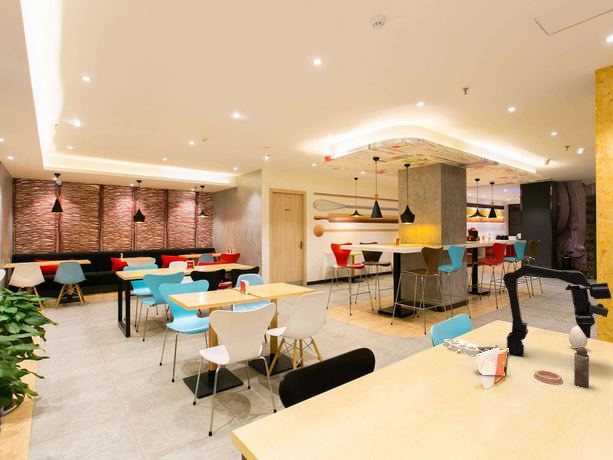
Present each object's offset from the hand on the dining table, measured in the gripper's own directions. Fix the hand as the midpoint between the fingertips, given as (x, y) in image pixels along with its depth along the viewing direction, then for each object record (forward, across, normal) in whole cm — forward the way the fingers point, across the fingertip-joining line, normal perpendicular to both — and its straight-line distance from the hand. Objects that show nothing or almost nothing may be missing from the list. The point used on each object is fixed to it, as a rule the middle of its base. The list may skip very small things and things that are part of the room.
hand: (587, 335), depth 147 cm
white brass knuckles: (+7, -10, +51) cm, 52 cm away
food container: (+9, -32, +35) cm, 48 cm away
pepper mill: (+14, -23, +5) cm, 28 cm away
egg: (+14, +27, +5) cm, 31 cm away
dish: (+12, -25, +16) cm, 31 cm away
